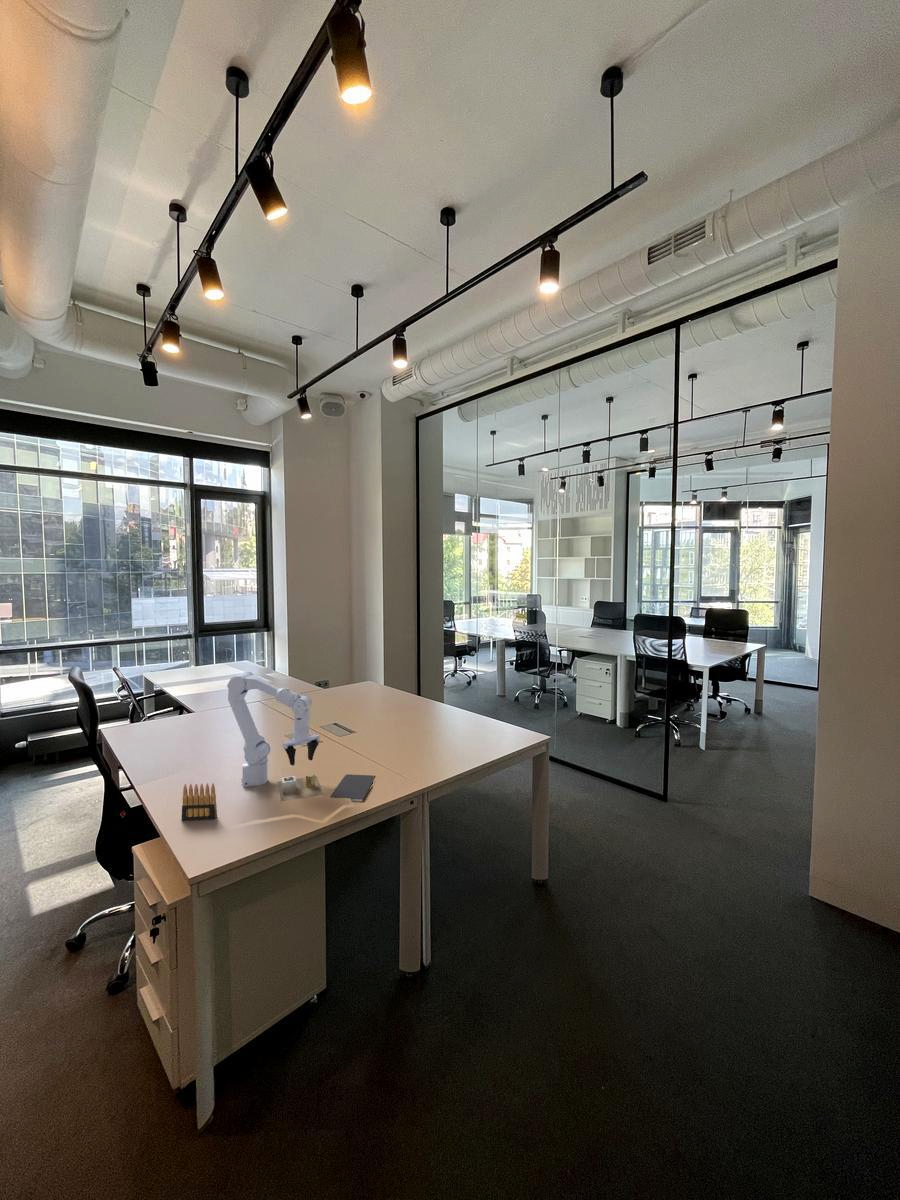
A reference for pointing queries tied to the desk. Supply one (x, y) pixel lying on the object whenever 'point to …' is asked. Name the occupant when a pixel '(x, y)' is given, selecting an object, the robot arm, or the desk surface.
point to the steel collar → (288, 784)
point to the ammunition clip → (199, 803)
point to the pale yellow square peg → (310, 780)
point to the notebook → (353, 787)
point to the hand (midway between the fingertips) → (301, 762)
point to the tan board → (301, 790)
